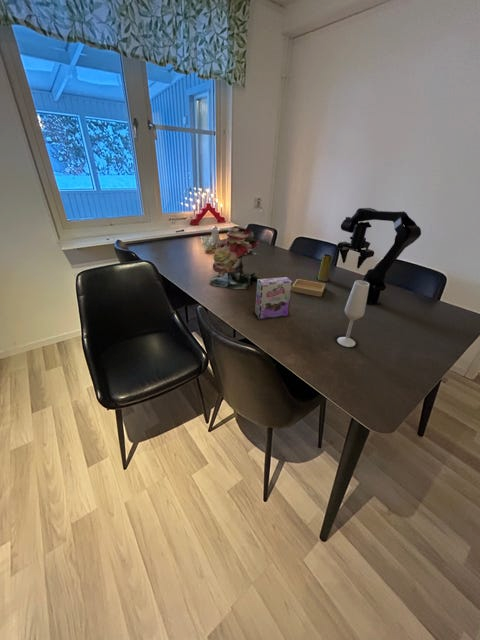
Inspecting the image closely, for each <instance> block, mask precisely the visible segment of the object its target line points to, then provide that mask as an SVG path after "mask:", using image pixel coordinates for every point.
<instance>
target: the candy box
mask: <svg viewBox="0 0 480 640" xmlns="http://www.w3.org/2000/svg"><path fill="white" fill-rule="evenodd" d="M292 285H293V281H292V280H291V279H290V278H289V277H287V276H283V277H271V278H270V277H269V278H268V277H267V278H261V279H256V290H255V291H256V292H255V293H256V294H255V307H254V313H255V315H256V317H257V319H258V320H263V319H272V318H273V319H274V318H280V317H288V316H289V310H290V302H291V295H292V291H291V289H292Z"/></svg>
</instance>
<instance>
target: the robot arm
mask: <svg viewBox="0 0 480 640" xmlns="http://www.w3.org/2000/svg"><path fill="white" fill-rule="evenodd" d="M370 221H383V222H384V221H386V222H393V228H394V231H395V233H396V234H395V236H394V242H393V244H392V246H391V247H390V248H389V250H388V251H387V252H386V253H385V255H384V256H383V258H382V259H381V260H380V262H379V263H378V264H377V266H376V267H375V268H370V269H368V270H367V272H366V273H365V274H364V275H363V276H364V277H363V280H362V281H366V282H368V283H369V290H368V296H367V301H366V305H380V304H381V303H380V301H379V298H380V295H381V291H385V290H386V289H387V285H386V283H385V281H384V280H385V278H386V273H387V271H388V270H389V269H390V268H391V267H392V265H393V264H394V263H395V262H396V260H397V259H398V258H399V256H400V255H401V254H402V253H403V251H404V250H406V249H407V248H408V247H409V246H411V245H412V244H413V243H415V242H416V241H417V240H418V239H419V238H420V237H421V236H422V229H421V227H420V226H419V225H417V223H416V221H414V219H412V218H411V217H410V216H409V215H408V213H407V212H405V211H403V210H402V211H389V210H387V211H386V210H378V209H375V208H372V207H360V208H357V209H356V211H355V213H354V214H353V215H352V216H351V217H350V216H346V217H345V219H344V220H343V221H342V222H341V224H340V229H341V230H342V231H344V232H346V233H350V234H352V235H351V236H350V237H349V239H350V242H347V241H339V242H338V243H337V245H336V248H337V249H338V251H339V253H340V256H341V257H340V258H341V260H342V263H343V264H345V263H346V261H347V258H348V253H349V251H353V252H355V253H359V255H358V257H357V264H356V269H360V268H361V266H362V265H363V263H364V262H365V261H366V260H367V259H370V258H372V257H374V256H375V251H374V250H372V249H369V247H370V245H371V242H369V241H367V238H366V237H365V236H366V233H367V230H368V228H372V225H371V223H370Z"/></svg>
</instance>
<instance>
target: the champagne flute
mask: <svg viewBox="0 0 480 640" xmlns="http://www.w3.org/2000/svg"><path fill="white" fill-rule="evenodd" d="M368 290H369V283H368V282H366V281H364V280H362V279H361V280H359V279H357V280H355V281H354V283H353V285H352V288H351V291H350V293H349V295H348V299H347V301H346V304H345V307H344V314H345V316H346V317H347V318H348V319H349V322H348V323H349V324H348V327H347V331H346V335H345V336H339V337H337V339H336V342H337V343H338V344H339V345H341V346H343V347H346V348H347V347H348V348H352V347H354V346H356V341H355V340H354V339H352V338H351V337H350V335H351V333H352V329H353V324H354V321H357V320H359V319H361V318H362V317H363V316H365V312H366V306H367V303H366V301H367V296H368Z"/></svg>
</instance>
